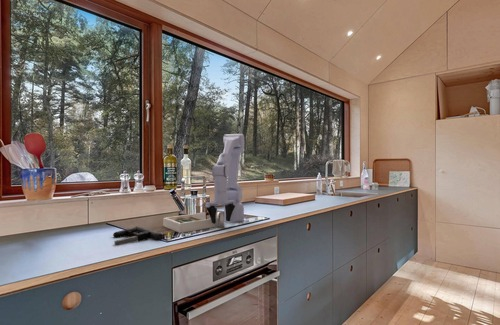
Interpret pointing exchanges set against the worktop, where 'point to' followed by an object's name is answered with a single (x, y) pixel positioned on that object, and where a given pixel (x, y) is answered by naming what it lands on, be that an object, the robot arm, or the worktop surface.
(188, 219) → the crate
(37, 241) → the worktop surface
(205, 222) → the tray
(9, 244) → the worktop surface
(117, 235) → the door handle
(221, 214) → the handle
